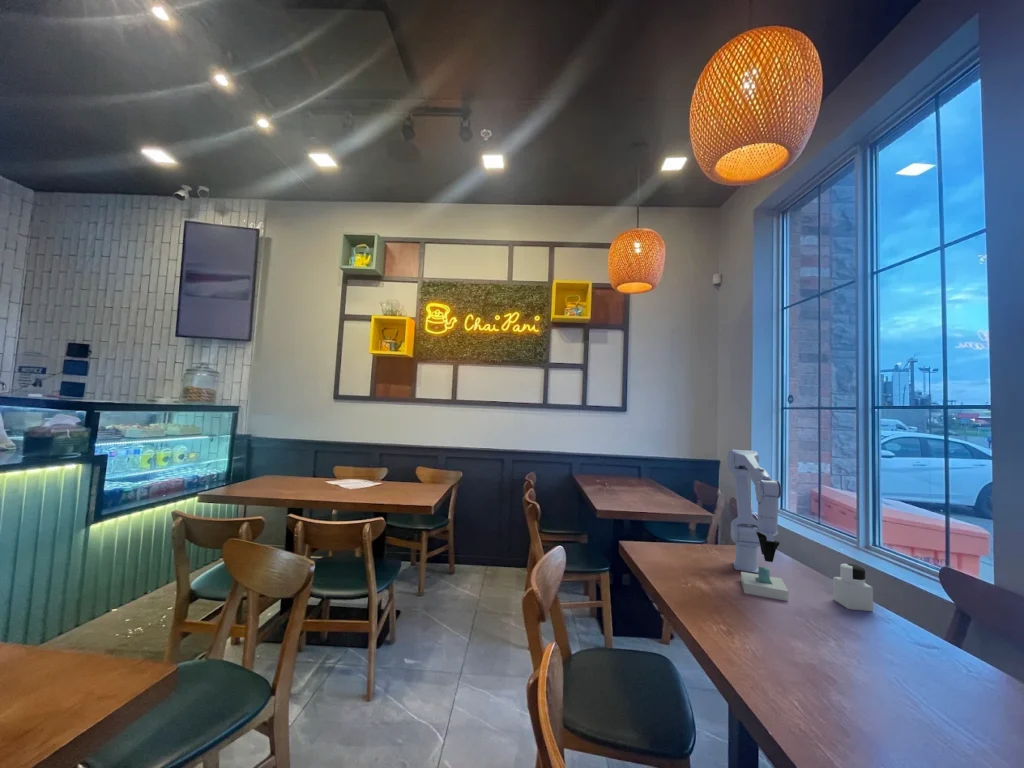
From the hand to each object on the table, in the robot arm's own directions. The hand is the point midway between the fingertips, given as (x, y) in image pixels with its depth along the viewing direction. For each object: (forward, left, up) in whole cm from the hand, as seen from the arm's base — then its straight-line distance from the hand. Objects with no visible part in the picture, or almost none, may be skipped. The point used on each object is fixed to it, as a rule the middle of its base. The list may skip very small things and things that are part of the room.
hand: (767, 558), depth 143 cm
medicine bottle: (+2, +23, -10) cm, 25 cm away
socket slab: (+3, -1, -10) cm, 10 cm away
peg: (+3, -1, -10) cm, 10 cm away
